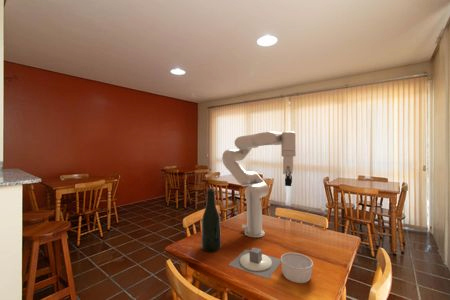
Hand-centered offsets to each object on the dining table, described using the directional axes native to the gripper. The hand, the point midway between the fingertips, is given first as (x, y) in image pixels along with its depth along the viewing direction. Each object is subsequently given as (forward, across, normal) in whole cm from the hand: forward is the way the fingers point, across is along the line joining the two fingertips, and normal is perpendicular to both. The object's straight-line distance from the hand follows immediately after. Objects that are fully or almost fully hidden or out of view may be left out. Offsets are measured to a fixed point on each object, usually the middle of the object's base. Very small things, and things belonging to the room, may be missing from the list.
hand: (288, 184), depth 120 cm
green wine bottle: (+34, +17, -40) cm, 55 cm away
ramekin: (+35, +29, +4) cm, 45 cm away
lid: (+34, +24, -14) cm, 44 cm away
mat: (+34, +24, -14) cm, 44 cm away
